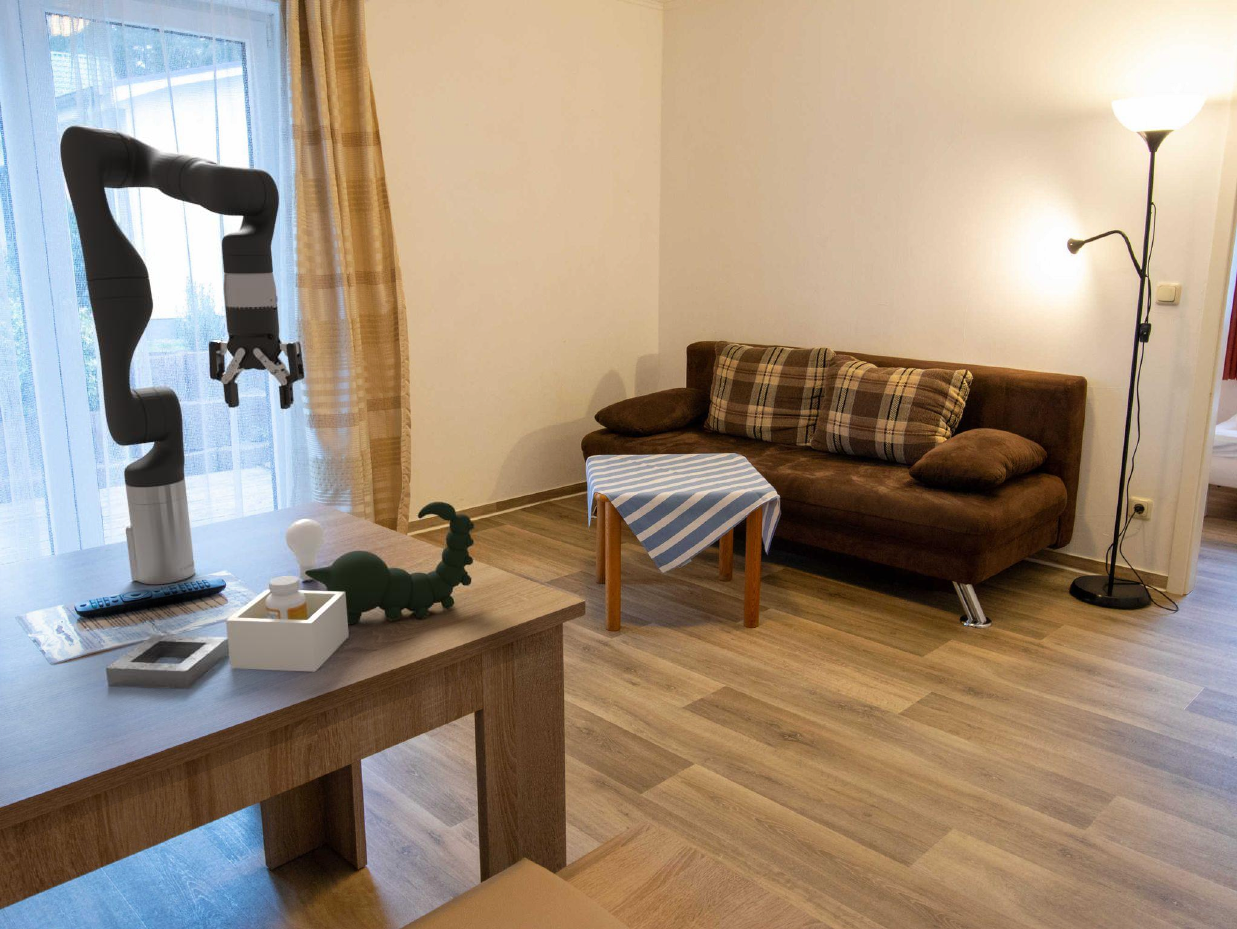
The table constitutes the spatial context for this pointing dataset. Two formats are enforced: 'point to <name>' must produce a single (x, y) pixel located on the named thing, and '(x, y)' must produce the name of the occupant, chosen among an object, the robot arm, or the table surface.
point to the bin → (287, 634)
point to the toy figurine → (402, 574)
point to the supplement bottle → (286, 599)
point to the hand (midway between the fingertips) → (260, 407)
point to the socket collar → (146, 673)
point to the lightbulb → (305, 543)
